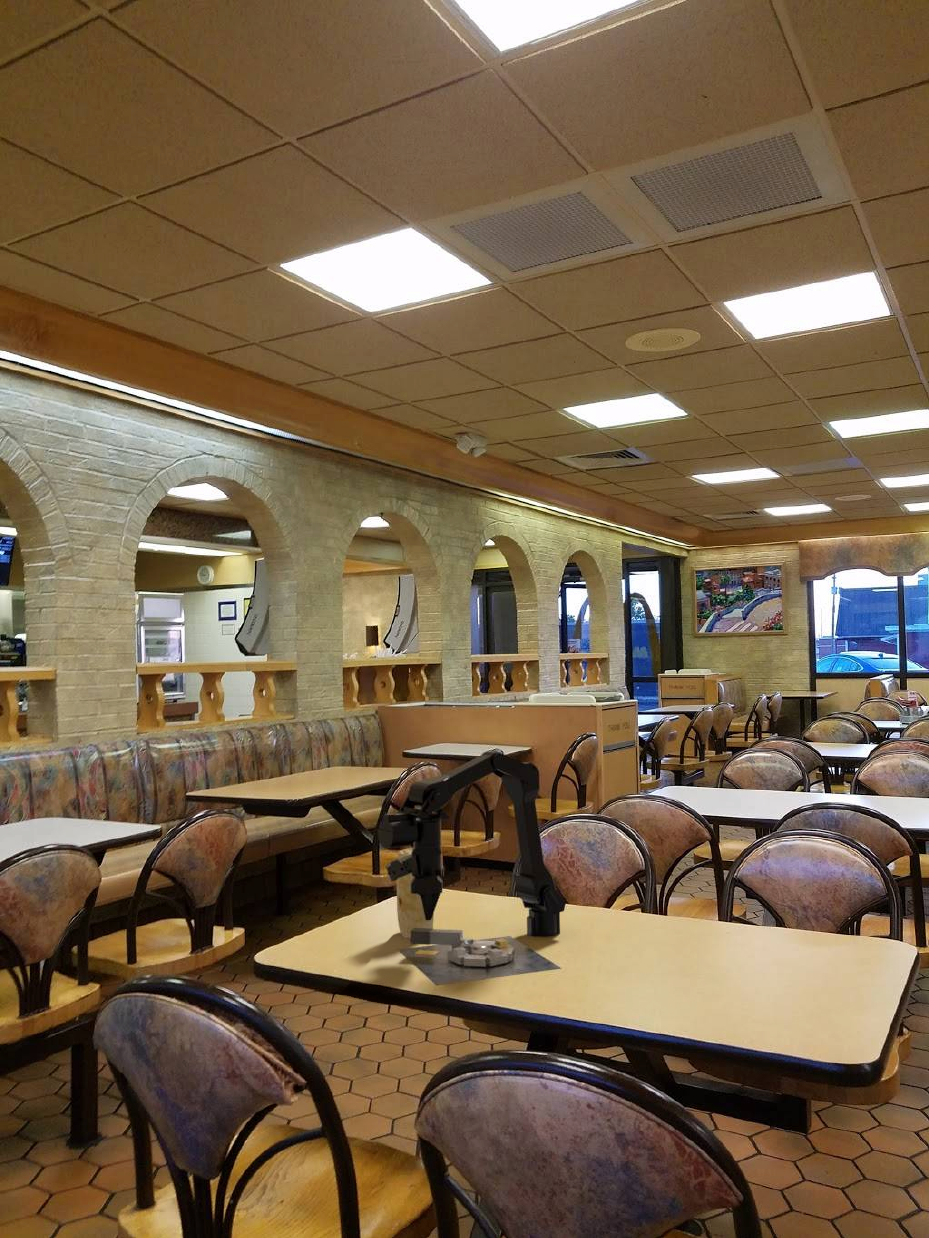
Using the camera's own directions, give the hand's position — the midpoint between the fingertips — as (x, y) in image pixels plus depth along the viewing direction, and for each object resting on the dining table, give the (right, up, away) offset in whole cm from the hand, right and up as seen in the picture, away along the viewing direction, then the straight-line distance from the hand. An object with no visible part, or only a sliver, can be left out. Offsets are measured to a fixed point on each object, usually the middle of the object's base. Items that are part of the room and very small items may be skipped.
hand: (428, 919), depth 200 cm
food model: (-4, -10, +19) cm, 22 cm away
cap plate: (+10, -9, -1) cm, 13 cm away
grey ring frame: (+7, -8, +1) cm, 10 cm away
